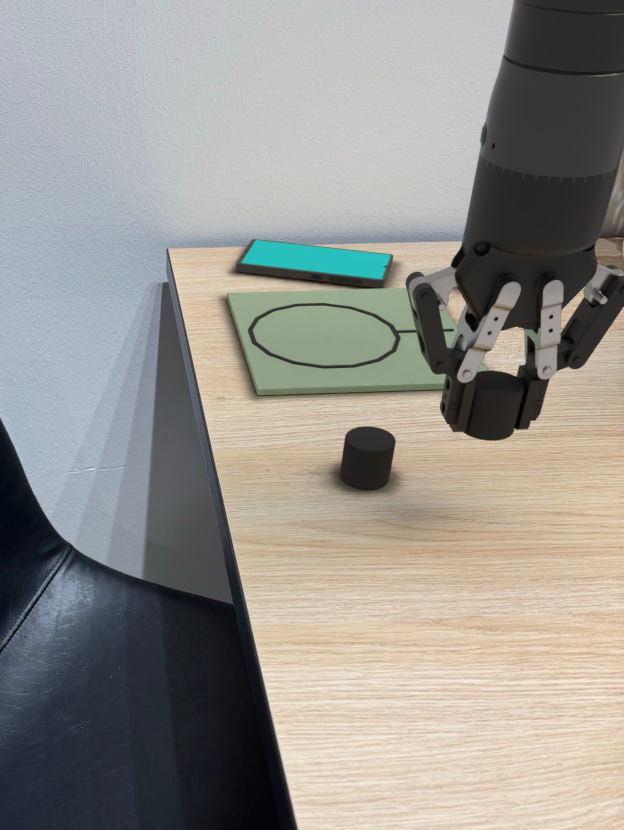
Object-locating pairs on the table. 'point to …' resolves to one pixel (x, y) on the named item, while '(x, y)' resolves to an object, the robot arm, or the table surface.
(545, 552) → the table surface
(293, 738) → the table surface
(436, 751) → the table surface
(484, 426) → the eye dot
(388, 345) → the face mat
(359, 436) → the eye dot
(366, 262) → the smartphone
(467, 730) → the table surface
